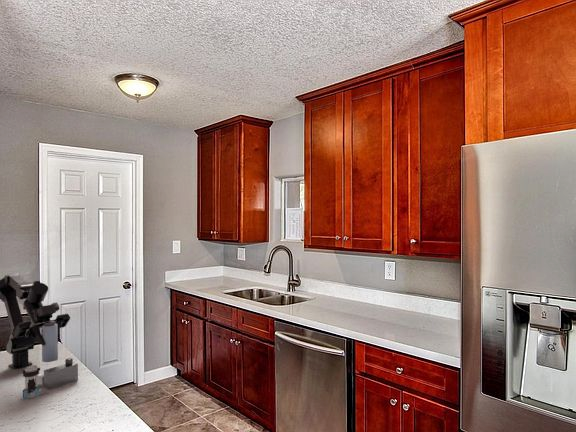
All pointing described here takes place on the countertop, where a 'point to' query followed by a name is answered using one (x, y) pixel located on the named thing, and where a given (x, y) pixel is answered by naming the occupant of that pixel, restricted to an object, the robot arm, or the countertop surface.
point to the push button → (31, 382)
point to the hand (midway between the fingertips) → (52, 342)
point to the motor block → (59, 375)
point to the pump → (50, 341)
